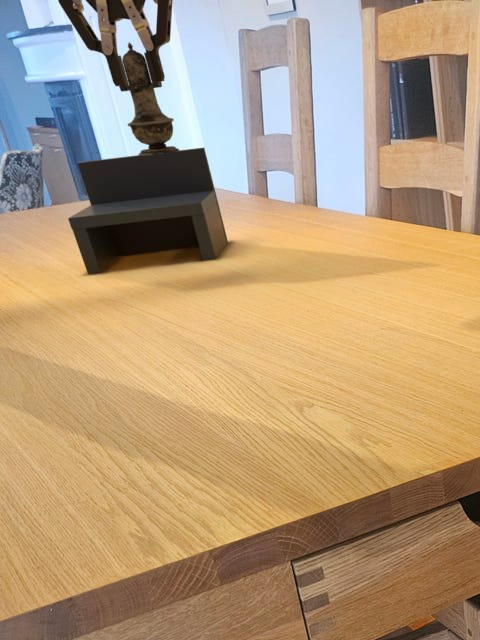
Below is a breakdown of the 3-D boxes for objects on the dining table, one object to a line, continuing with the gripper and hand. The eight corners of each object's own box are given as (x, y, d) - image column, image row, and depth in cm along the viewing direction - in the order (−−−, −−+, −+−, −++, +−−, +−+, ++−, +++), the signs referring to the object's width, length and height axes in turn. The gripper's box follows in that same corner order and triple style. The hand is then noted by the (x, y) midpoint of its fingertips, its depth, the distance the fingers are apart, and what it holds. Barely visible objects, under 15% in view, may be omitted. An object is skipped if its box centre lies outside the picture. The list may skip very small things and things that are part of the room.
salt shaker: (171, 149, 114) (143, 41, 107) (188, 150, 110) (160, 38, 103) (129, 155, 111) (98, 45, 104) (145, 156, 107) (113, 42, 100)
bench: (87, 274, 129) (51, 172, 121) (110, 256, 140) (79, 162, 132) (215, 259, 130) (189, 156, 121) (228, 242, 141) (204, 147, 133)
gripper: (161, -90, 99) (202, 82, 109) (43, -78, 99) (94, 94, 109) (146, -99, 93) (191, 84, 103) (20, -87, 93) (77, 96, 103)
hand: (141, 88), depth 106 cm, fingers closed on salt shaker, 3 cm apart
